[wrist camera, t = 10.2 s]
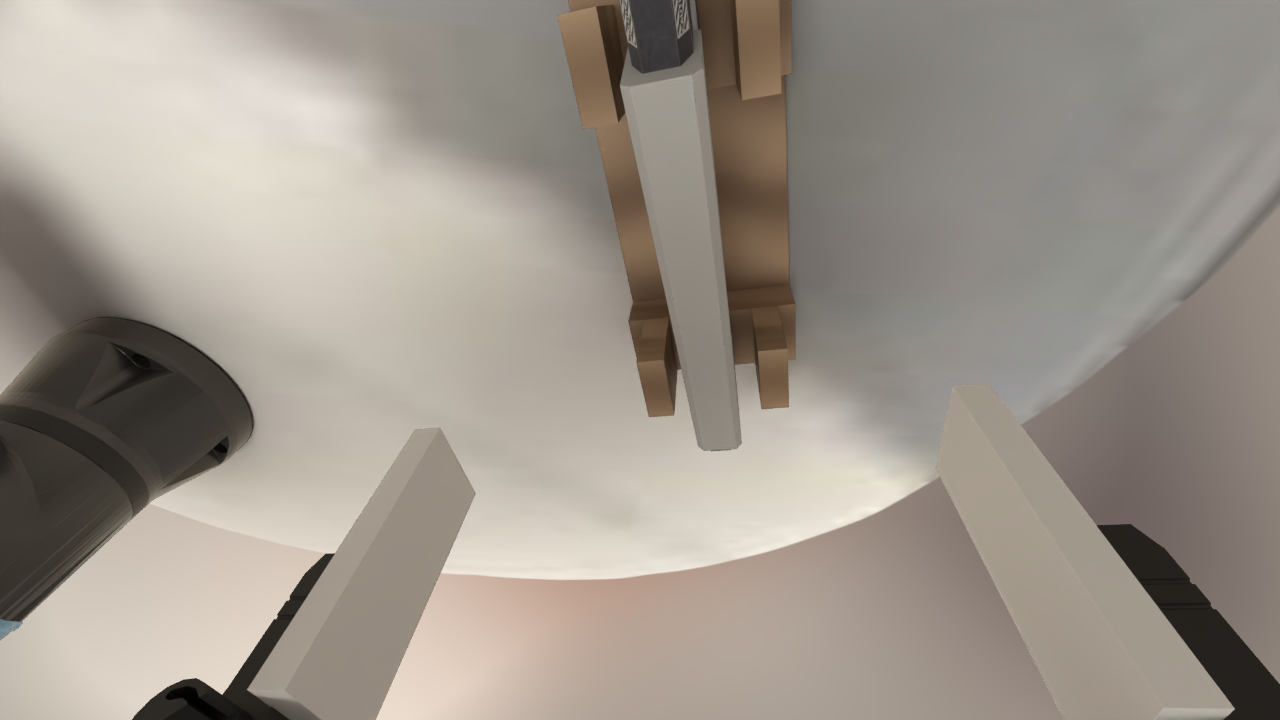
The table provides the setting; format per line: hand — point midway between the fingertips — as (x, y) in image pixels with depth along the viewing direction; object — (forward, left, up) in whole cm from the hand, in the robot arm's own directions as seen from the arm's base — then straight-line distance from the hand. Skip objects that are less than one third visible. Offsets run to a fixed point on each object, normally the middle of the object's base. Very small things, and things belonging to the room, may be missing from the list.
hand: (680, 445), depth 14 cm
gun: (0, 0, -17) cm, 17 cm away
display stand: (0, 0, -21) cm, 21 cm away
